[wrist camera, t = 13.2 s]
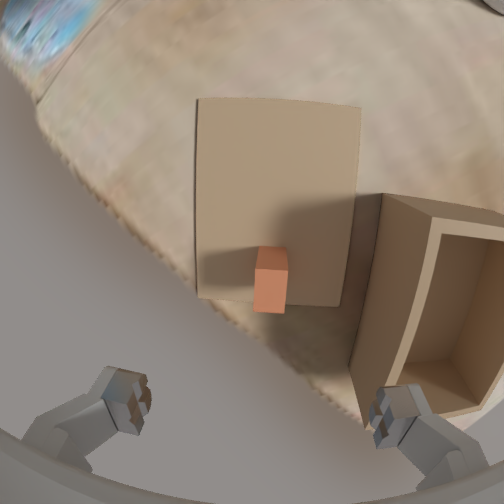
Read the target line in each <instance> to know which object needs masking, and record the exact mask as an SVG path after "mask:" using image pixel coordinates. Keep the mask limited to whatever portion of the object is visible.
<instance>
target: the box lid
mask: <svg viewBox="0 0 504 504" xmlns="http://www.w3.org/2000/svg"><path fill="white" fill-rule="evenodd" d="M360 128H361V108H358V107H351V106H344V105H337V104H328V103H320V102H310V101H298V100H285V99H266V98H199V101H198V124H197V156H196V257H197V290H198V298H205V299H216V300H228V301H241V302H254V305H253V311H254V312H268V313H284V310H285V304H286V305H304V306H326V307H339V305H340V299H341V294H342V288H343V282H344V277H345V270H346V264H347V258H348V251H349V244H350V237H351V229H352V221H353V213H354V204H355V195H356V184H357V173H358V161H359V146H360Z"/></svg>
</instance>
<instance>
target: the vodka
mask: <svg viewBox="0 0 504 504" xmlns="http://www.w3.org/2000/svg"><path fill="white" fill-rule="evenodd" d="M483 1H484V2H485V3H487V4H488V5H489V6H490V7H492V8H493V9H494V10H496V11H497V12H499V13H501V14H503V15H504V0H483Z"/></svg>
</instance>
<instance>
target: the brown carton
mask: <svg viewBox="0 0 504 504" xmlns="http://www.w3.org/2000/svg"><path fill="white" fill-rule="evenodd" d="M348 367H349V371H350V374H351V378H352V382H353V385H354V389H355V393H356V397H357V400H358V404H359V408H360V412H361V416H362V420H363V424H364V428H365V430H371V429H374V428H372V427H371V426H370V422H369V410H370V406H371V404H372V402H373V401H374V400H376V399H377V397H376V392H377V390H378V389H379V388H380V387H384V386H394V385H405V384H413V383H417V384H419V385H420V387H421V390H422V392H423V394H424V396H425V398H426V400H427V402H428V404H429V406H430V409H431V411H432V413H433V414H435V413H436V414H438V415H439V416H441V417H442V418H444V419H446V418H450V417H455V416H459V415H464V414H468V413H472V412H475V411H479V410H481V409H482V408H483V406H484V405H485V403H486V402H487V400H488V398H489V397H490V395H491V393H492V392H493V390H494V388H495V387H496V385H497V383H498V381H499V380H500V378H501V376H502V374H503V372H504V215H502V214H500V213H497V212H495V211H490V210H486V209H480V208H475V207H470V206H465V205H459V204H453V203H447V202H441V201H435V200H429V199H422V198H416V197H409V196H402V195H394V194H386V193H382V201H381V209H380V216H379V224H378V230H377V237H376V243H375V249H374V255H373V261H372V266H371V272H370V277H369V282H368V287H367V292H366V297H365V301H364V306H363V310H362V314H361V319H360V323H359V327H358V331H357V335H356V339H355V343H354V346H353V350H352V354H351V358H350V361H349V365H348Z"/></svg>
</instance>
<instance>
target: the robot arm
mask: <svg viewBox="0 0 504 504" xmlns="http://www.w3.org/2000/svg"><path fill="white" fill-rule="evenodd" d="M147 382H148V380H147V377H146V375H145V374H142V373H138V372H133V371H129V370H124V369H120V368H115V367H111V366H106V367H105V368H104V369H103V370H102V372H101V374H100V375H99V377H98V378H97V380H96V381H95V383H94V385H93V386H92V388H91V389H90V391H89V392H88V394H82V395H80V396H78V397H76V398H74V399H73V400H70V401H68V402H66V403H64V404H62V405H60V406H58V407H56V408H54V409H52V410H50V411H48V412H46V413H44V414H42V415H40V416H37V417H36V418H35V420H34V421H33V423H32V424H31V426H30V427H29V429H28V430H27V432H26V433H25V435H24V436H23V438H22V439H21V440H20V439H18V438H16V437H15V436H13V435H11V434H9V433H8V432H6V431H4V430H3V429H1V428H0V504H214V503H207V502H200V501H194V500H188V499H183V498H177V497H173V496H168V495H163V494H159V493H154V492H151V491H147V490H143V489H139V488H136V487H132V486H129V485H125V484H122V483H119V482H116V481H113V480H110V479H106V478H104V477H101V476H98V475H95V474H93V473H91V472H92V467H91V465H90V464H89V463H88V462H87V460H86V459H85V456H86V455H88V454H89V453H91V452H92V451H93V450H95V449H96V448H97V447H99V446H100V445H101V444H103V443H104V442H105V441H107V440H108V439H109V438H111V437H112V436H113V435H115V434H116V433H117V432H118V431H120V432H124V433H129V434H133V435H137V436H139V435H140V432H141V430H142V427H143V425H144V419H143V416H145V415H146V414H148V412H149V410H150V407H151V401H152V398H151V391H150V389H149V388H148V387H147V386H146V385H147ZM376 397H377V399H376V400H374V401H373V402H372V404H371V406H370V410H369V422H370V426H371V427H372V428H374V429H375V430H376V431H375V432H374V434H373V437H374V441H375V445H376V449H383V448H391V447H397V448H398V449H399V450H400V451H401V452H402V453H403V454H404V455H405V456H406V457H407V458H408V459H409V460H410V461H411V462H412V463H413V464H414V465H415V466H416V467H417V468H418V469H419V470H420V471H421V472H422V473H423V474H424V475H425V476H426V477H425V478H424V479H423V480H422V481H421V482H420V483H419V484H418V486H417V487H416V490H417V491H416V492H412V493H409V494H404V495H400V496H396V497H390V498H385V499H380V500H374V501H368V502H361V503H355V504H504V460H503V461H500V462H498V463H496V464H494V465H492V466H489V464H488V462H487V460H486V457H485V455H484V453H483V451H482V449H481V446H480V444H479V442H478V441H476V440H475V439H473V438H472V437H470V436H469V435H467V434H466V433H464V432H463V431H461V430H460V429H458V428H457V427H455V426H454V425H452V424H451V423H449V422H448V421H447V420H445V419H444V418H442V417H441V416H439V415H438V414H436V413H435V414H433V413H432V411H431V409H430V406H429V404H428V402H427V400H426V398H425V396H424V394H423V392H422V390H421V387H420V385H419V384H417V383H413V384H405V385H394V386H384V387H380V388H379V389H378V390H377V392H376Z"/></svg>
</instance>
